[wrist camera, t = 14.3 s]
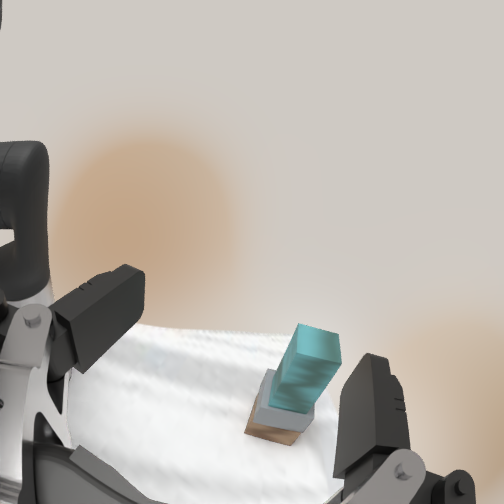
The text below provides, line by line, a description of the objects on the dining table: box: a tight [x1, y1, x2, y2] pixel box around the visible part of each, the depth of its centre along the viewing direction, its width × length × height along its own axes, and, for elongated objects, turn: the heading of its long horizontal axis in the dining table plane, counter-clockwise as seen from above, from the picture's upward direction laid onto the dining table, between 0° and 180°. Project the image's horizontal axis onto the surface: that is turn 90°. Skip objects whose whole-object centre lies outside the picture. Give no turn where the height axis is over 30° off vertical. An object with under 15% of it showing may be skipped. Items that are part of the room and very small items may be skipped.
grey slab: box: [253, 369, 315, 433], centre depth 33 cm, size 7×7×4 cm
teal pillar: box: [268, 323, 342, 414], centre depth 30 cm, size 5×5×10 cm
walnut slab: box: [244, 393, 301, 446], centre depth 35 cm, size 7×7×4 cm
